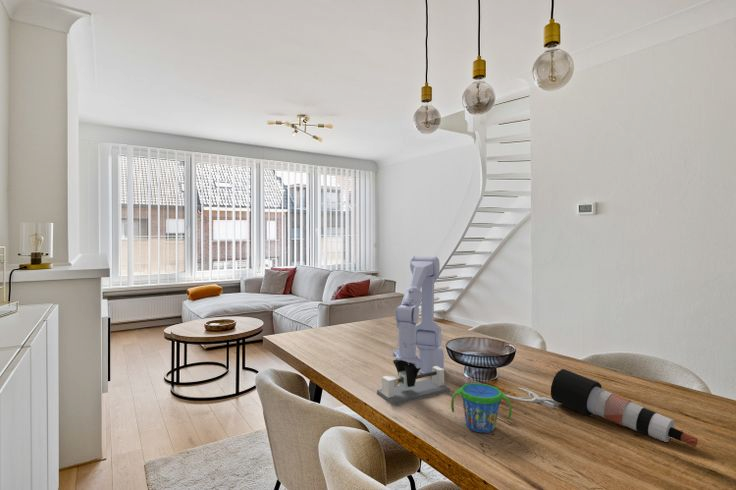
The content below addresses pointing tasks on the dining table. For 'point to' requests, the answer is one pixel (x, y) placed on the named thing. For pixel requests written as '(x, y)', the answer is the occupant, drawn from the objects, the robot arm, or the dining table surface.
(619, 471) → the dining table surface
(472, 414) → the snack cup
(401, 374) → the marker sleeve
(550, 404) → the pliers
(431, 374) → the cord rig
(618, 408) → the cable
